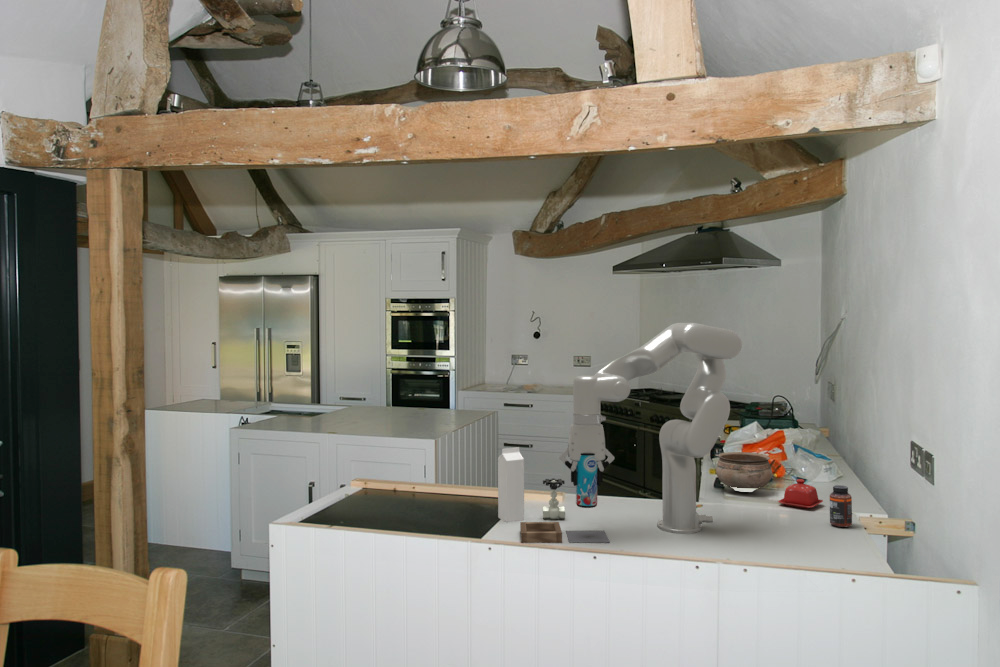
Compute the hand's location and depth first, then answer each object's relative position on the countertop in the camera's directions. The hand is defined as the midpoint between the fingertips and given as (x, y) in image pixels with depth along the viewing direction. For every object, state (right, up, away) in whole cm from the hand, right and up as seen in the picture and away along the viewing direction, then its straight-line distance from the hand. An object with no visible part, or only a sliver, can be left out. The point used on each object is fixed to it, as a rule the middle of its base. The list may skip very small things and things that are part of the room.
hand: (586, 484), depth 202 cm
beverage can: (0, -6, 0) cm, 6 cm away
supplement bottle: (+76, -15, +12) cm, 79 cm away
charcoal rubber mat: (0, -15, 0) cm, 15 cm away
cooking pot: (+63, -14, +56) cm, 85 cm away
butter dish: (+75, -15, +36) cm, 84 cm away
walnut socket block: (-13, -15, 0) cm, 20 cm away
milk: (-21, -15, +19) cm, 32 cm away
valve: (-8, -15, +19) cm, 26 cm away
